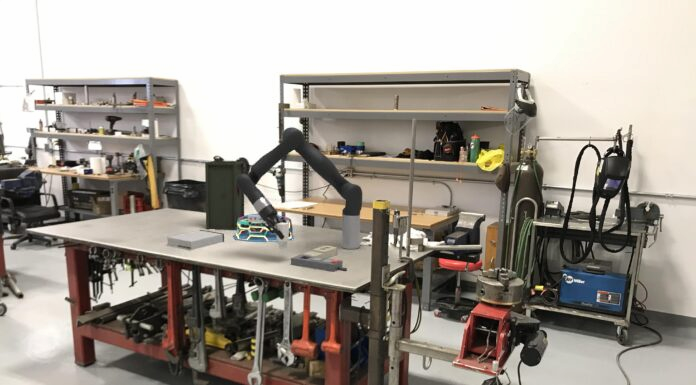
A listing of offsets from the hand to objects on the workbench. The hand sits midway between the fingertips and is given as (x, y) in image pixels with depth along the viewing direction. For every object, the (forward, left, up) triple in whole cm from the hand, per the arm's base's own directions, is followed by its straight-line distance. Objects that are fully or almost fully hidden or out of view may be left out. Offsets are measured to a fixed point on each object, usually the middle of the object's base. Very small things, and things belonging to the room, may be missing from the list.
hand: (286, 237), depth 227 cm
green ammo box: (-48, -77, -11) cm, 91 cm away
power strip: (0, +18, -11) cm, 21 cm away
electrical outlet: (-15, +10, -12) cm, 21 cm away
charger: (0, -2, -5) cm, 6 cm away
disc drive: (-5, -60, -12) cm, 61 cm away
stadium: (-36, -39, -12) cm, 54 cm away
